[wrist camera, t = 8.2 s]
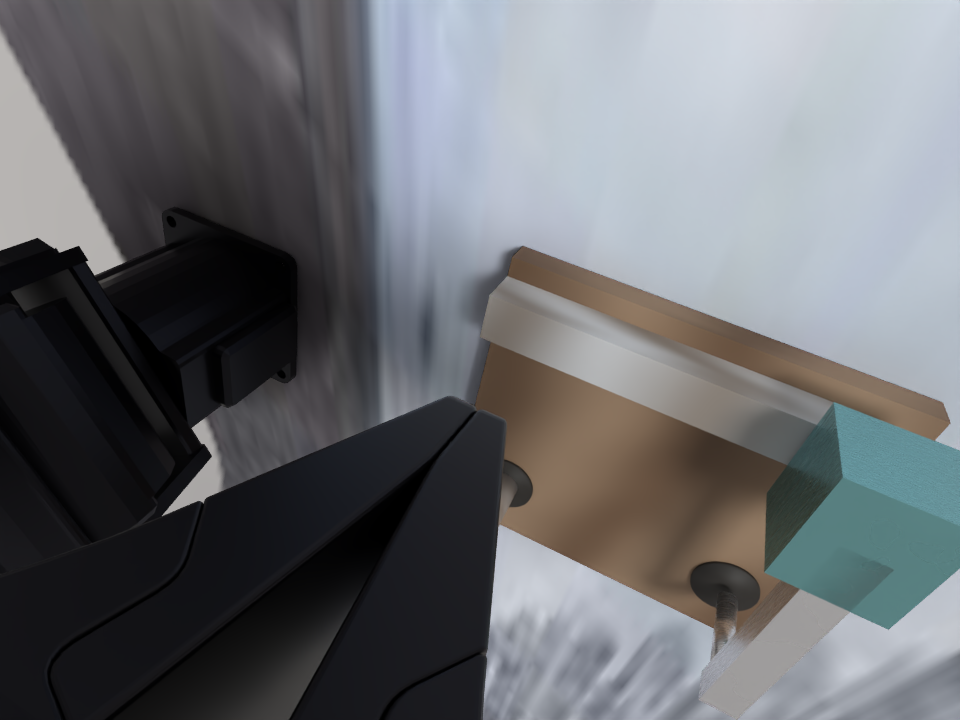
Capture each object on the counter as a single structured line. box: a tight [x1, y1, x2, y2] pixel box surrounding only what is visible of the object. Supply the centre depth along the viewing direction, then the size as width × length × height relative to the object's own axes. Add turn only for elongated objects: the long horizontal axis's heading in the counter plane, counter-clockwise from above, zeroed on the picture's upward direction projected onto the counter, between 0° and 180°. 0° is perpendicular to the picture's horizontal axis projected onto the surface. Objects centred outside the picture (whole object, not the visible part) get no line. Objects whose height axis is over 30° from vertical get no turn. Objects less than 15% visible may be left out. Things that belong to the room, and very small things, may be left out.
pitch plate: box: [475, 246, 950, 631], centre depth 20 cm, size 13×12×4 cm
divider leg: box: [699, 402, 960, 719], centre depth 17 cm, size 3×10×4 cm, turn 168°
